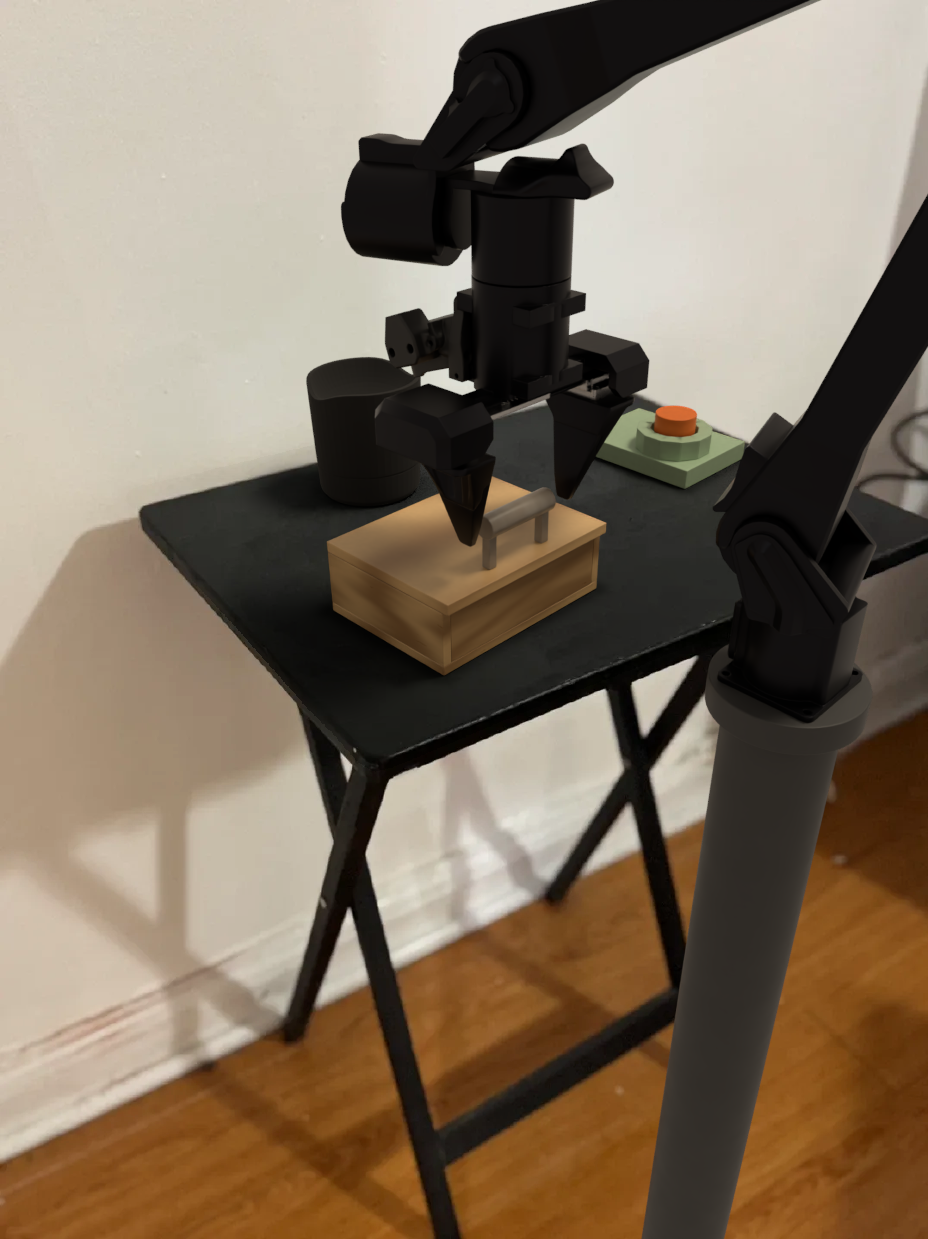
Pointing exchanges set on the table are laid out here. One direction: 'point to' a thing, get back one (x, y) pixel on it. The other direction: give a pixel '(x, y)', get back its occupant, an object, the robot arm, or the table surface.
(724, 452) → the control block
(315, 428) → the pen holder
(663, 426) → the button
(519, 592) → the wooden case
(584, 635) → the table surface
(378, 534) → the case lid
